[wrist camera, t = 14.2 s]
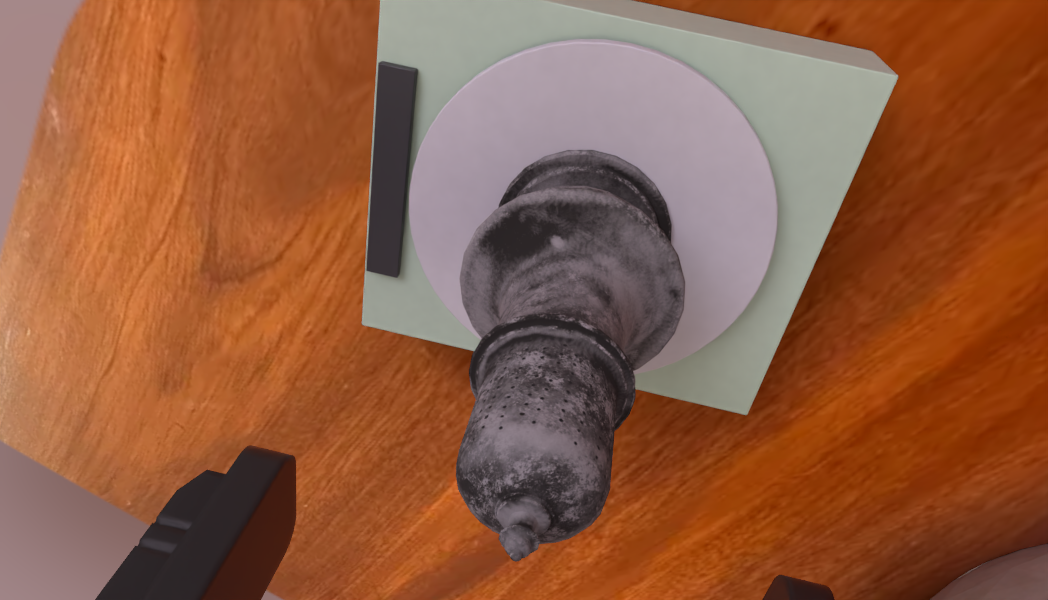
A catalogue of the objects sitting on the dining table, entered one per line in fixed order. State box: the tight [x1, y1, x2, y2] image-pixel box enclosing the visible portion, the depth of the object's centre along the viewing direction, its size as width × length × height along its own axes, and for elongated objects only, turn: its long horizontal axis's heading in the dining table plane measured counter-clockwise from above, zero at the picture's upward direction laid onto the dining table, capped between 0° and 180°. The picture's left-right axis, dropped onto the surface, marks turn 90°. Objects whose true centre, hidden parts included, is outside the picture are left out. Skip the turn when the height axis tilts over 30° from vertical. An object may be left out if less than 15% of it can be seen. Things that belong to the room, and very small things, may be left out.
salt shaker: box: [456, 150, 685, 561], centre depth 17 cm, size 6×6×12 cm
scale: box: [362, 0, 898, 415], centre depth 23 cm, size 14×12×4 cm
